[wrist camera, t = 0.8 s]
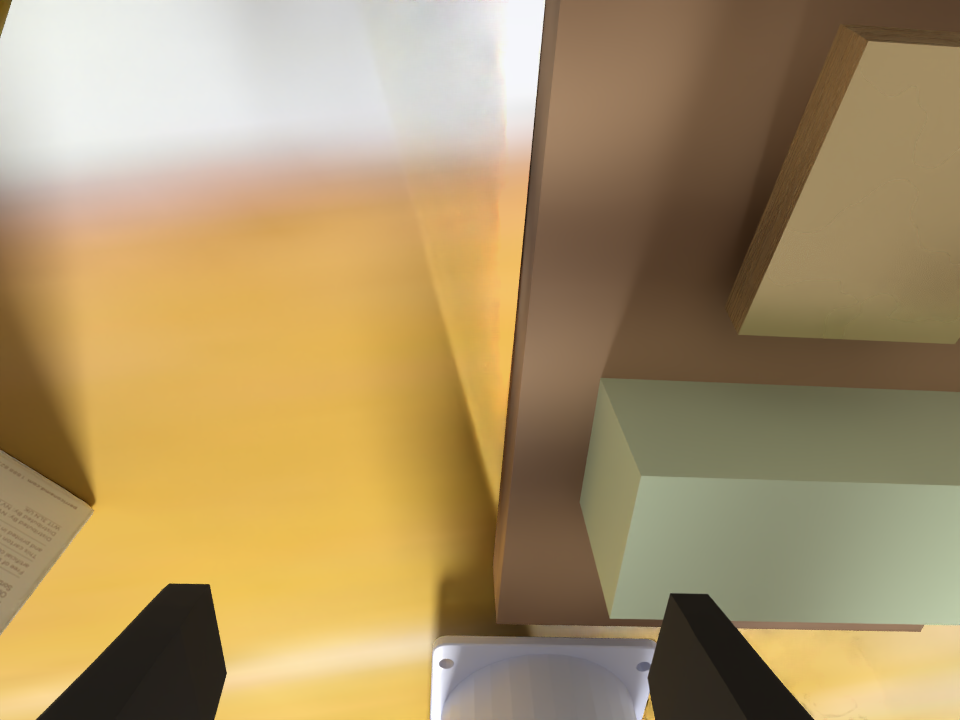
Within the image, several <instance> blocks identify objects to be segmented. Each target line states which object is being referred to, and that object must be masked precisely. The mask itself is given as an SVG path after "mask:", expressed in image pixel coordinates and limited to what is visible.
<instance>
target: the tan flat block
mask: <svg viewBox="0 0 960 720" xmlns="http://www.w3.org/2000/svg"><path fill="white" fill-rule="evenodd" d="M724 308H725V310H726V312H727V314H728V316H729V318H730V320H731V322H732V324H733V326H734V328H735V330H736V332H737V334H738V335H755V336H778V337H801V338H824V339H847V340H870V341H893V342H916V343H939V344H955V343H956V342H957V340H958V339H959V338H960V32H950V31H936V30H922V29H907V28H893V27H879V26H865V25H851V24H840V26H839V29H838V31H837V34H836V36H835V38H834V41H833V43H832V46H831V48H830V51H829V53H828V56H827V58H826V60H825V63H824V65H823V68H822V70H821V73H820V75H819V77H818V80H817V82H816V85H815V87H814V90H813V92H812V95H811V97H810V99H809V102H808V104H807V107H806V109H805V112H804V114H803V117H802V119H801V121H800V124H799V126H798V129H797V131H796V134H795V136H794V138H793V141H792V143H791V146H790V148H789V151H788V153H787V156H786V158H785V160H784V163H783V165H782V168H781V170H780V173H779V175H778V178H777V180H776V182H775V185H774V187H773V190H772V192H771V195H770V197H769V200H768V202H767V204H766V207H765V209H764V212H763V214H762V217H761V219H760V221H759V224H758V226H757V229H756V231H755V234H754V236H753V239H752V241H751V243H750V246H749V248H748V251H747V253H746V256H745V258H744V261H743V263H742V265H741V268H740V270H739V273H738V275H737V278H736V280H735V282H734V285H733V287H732V290H731V292H730V295H729V297H728V300H727V302H726V304H725V307H724Z"/></svg>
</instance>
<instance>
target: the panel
mask: <svg viewBox="0 0 960 720" xmlns="http://www.w3.org/2000/svg"><path fill="white" fill-rule="evenodd" d="M840 24H851V25H865V26H879V27H893V28H907V29H922V30H936V31H950V32H960V0H545V10H544V21H543V32H542V43H541V53H540V64H539V75H538V86H537V96H536V107H535V118H534V129H533V139H532V150H531V161H530V171H529V182H528V193H527V204H526V214H525V225H524V236H523V247H522V257H521V268H520V279H519V290H518V300H517V311H516V322H515V332H514V343H513V354H512V365H511V375H510V386H509V397H508V408H507V418H506V429H505V440H504V450H503V461H502V472H501V483H500V493H499V504H498V515H497V526H496V536H495V547H494V558H493V576H494V592H495V608H496V624H529V625H583V626H638V627H661V625H662V622H663V620H656V619H610V617H609V614H608V610H607V606H606V602H605V598H604V594H603V590H602V586H601V583H600V579H599V575H598V571H597V567H596V563H595V559H594V555H593V552H592V548H591V544H590V540H589V536H588V532H587V528H586V524H585V521H584V517H583V513H582V509H581V505H580V497H581V491H582V485H583V479H584V473H585V467H586V461H587V455H588V449H589V443H590V437H591V431H592V425H593V420H594V414H595V408H596V402H597V396H598V390H599V384H600V378H617V379H642V380H667V381H693V382H718V383H744V384H769V385H794V386H820V387H845V388H871V389H896V390H921V391H947V392H960V338H959V339H958V340H957V342H956V343H955V344H939V343H916V342H893V341H870V340H847V339H824V338H801V337H778V336H755V335H738V334H737V332H736V330H735V328H734V326H733V324H732V322H731V320H730V318H729V316H728V314H727V312H726V310H725V308H724V307H725V304H726V302H727V300H728V297H729V295H730V292H731V290H732V287H733V285H734V282H735V280H736V278H737V275H738V273H739V270H740V268H741V265H742V263H743V261H744V258H745V256H746V253H747V251H748V248H749V246H750V243H751V241H752V239H753V236H754V234H755V231H756V229H757V226H758V224H759V221H760V219H761V217H762V214H763V212H764V209H765V207H766V204H767V202H768V200H769V197H770V195H771V192H772V190H773V187H774V185H775V182H776V180H777V178H778V175H779V173H780V170H781V168H782V165H783V163H784V160H785V158H786V156H787V153H788V151H789V148H790V146H791V143H792V141H793V138H794V136H795V134H796V131H797V129H798V126H799V124H800V121H801V119H802V117H803V114H804V112H805V109H806V107H807V104H808V102H809V99H810V97H811V95H812V92H813V90H814V87H815V85H816V82H817V80H818V77H819V75H820V73H821V70H822V68H823V65H824V63H825V60H826V58H827V56H828V53H829V51H830V48H831V46H832V43H833V41H834V38H835V36H836V34H837V31H838V29H839V26H840ZM731 622H732V623H733V625H734V626H735V627H736V628H746V629H800V630H854V631H908V632H921V630H922V628H923V626H924V625H918V624H866V623H814V622H761V621H731Z"/></svg>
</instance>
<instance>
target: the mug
mask: <svg viewBox="0 0 960 720" xmlns="http://www.w3.org/2000/svg"><path fill="white" fill-rule="evenodd" d="M11 2H12V0H0V37H1V33H2V30H3V27H4V24H5V21H6V18H7V15H8V11H9V8H10V5H11Z"/></svg>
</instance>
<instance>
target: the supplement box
mask: <svg viewBox="0 0 960 720" xmlns="http://www.w3.org/2000/svg"><path fill="white" fill-rule="evenodd" d="M93 511H94V510H93V509H92V508H91V507H90V506H89V505H88V504H87V503H86V502H84V501H83V500H81V499H79V498H77V497H76V496H74V495H73V494H71V493H70V492H68V491H67V490H65V489H64V488H62V487H60V486H59V485H57V484H56V483H54V482H52V481H51V480H49V479H47V478H45V477H44V476H42V475H41V474H39V473H38V472H36V471H34V470H33V469H31V468H29V467H28V466H26V465H24V464H23V463H21V462H20V461H18V460H16V459H15V458H13V457H11V456H10V455H8V454H7V453H5V452H4V451H2V450H0V635H1V634H2V633H3V631H4V630H5V629H6V627H7V626H8V625H9V623H10V622H11V621H12V619H13V618H14V617H15V615H16V614H17V613H18V612H19V610H20V609H21V608H22V606H23V605H24V604H25V602H26V601H27V600H28V598H29V597H30V596H31V595H32V593H33V592H34V591H35V589H36V588H37V587H38V585H39V584H40V583H41V581H42V580H43V578H44V577H45V576H46V574H47V573H48V572H49V570H50V569H51V568H52V567H53V565H54V564H55V563H56V561H57V560H58V559H59V557H60V556H61V555H62V553H63V552H64V551H65V550H66V548H67V547H68V546H69V544H70V543H71V542H72V540H73V539H74V538H75V536H76V535H77V534H78V532H79V531H80V530H81V529H82V527H83V526H84V525H85V523H86V522H87V521H88V520H89V518H90V517H91V516H92V514H93Z"/></svg>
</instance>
